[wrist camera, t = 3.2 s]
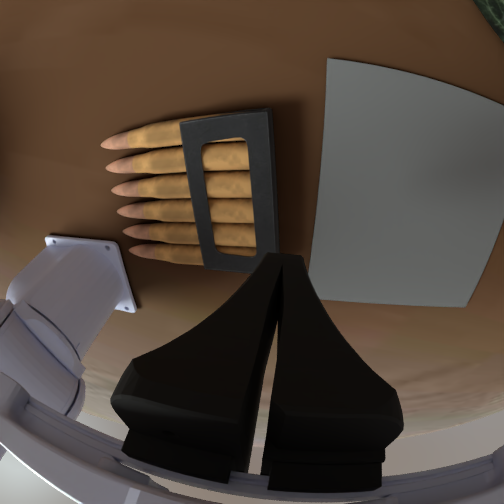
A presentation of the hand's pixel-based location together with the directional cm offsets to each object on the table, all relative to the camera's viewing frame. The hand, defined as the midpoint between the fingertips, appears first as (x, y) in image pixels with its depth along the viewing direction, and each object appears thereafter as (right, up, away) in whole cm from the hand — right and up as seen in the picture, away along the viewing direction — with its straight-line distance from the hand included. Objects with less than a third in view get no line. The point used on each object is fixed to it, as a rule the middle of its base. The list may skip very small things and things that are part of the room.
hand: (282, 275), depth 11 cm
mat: (+10, +4, +6) cm, 13 cm away
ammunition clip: (0, +4, +7) cm, 8 cm away
